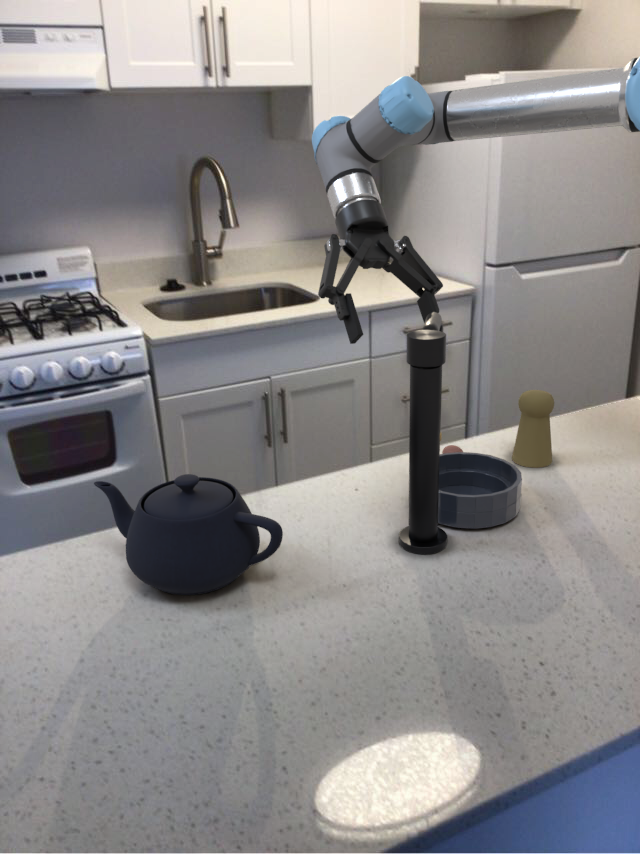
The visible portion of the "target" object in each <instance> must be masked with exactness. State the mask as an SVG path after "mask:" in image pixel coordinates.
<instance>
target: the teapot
mask: <svg viewBox="0 0 640 854" xmlns="http://www.w3.org/2000/svg"><path fill="white" fill-rule="evenodd" d="M93 485H94V486H95V487H96V488H98V489H99V490H100V491H102V492H103V493H104V494H105V496H106V498H107V499H108V502H109V504H110V507H111V510H112V514H113V515H112V516H113V518H114V522H115V525H116V527H117V529H118V531H119V533H120V534H121V535H122V536H123V537H124V538H125V539H126V540H125V559H126V563H127V565H128V567H129V569H130V571H131V573H133V575H134V576H135V577H136V578H137V579H138V580H140V581H141V582H143V583H144V584H146V585H148V586H150V587H152V588H155V589H157V590H158V591H161V592H163V593H167V594H171V595H178V596H196V595H202V594H207V593H212V592H215V591H217V590H220V589H222V588H224V587H227V586H228V585H230V584H231V583H233V582H234V581H235V580H236V579H238V578H239V577H240V576H241V575H242V574H244V573H245V572H246V571H247V570H248V569H249V567H251V566H254V565H256V564H259V563H262V562H263V561H266V560H268V559H269V558H270V557H271V556H273V555H274V554H275V553H276V552H277V551H278V549H279V548H280V546H281V544H282V542H283V536H284V534H283V533H284V531H283V528H282V526H281V524H280V523H279V522H277V521H276V520H275V519H273V518H271V517H267V516H263V515H259V514H255V513H252V511H251V509H250V508H249V506H248V504H247V503H246V501H245V498H244V497H243V496H242V495H241V493H240V491H239V490H238V488H236V486H234V485H233V484H231V483H229V482H228V481H225V480H222V479H218V478H215V477H204V476H202V477H201V476H198V475H196V474H193V473H186V474H181V475H179V476H176V477H175V479H173V480H169V481H166V482H163V483H160V484H157V485H156V486H154V487H152V488H150V489H149V490H148V491H146V492H145V493H144V494H143V495H141V497H140V498H139V500H138V502H137V504H136V507H135V508H134V509H135V510H134V509H133V508H132V506H131V505H130V503H129V502H128V501H127V499H126V498H125V496H124V495H123V493H122V492H121V490H120V489H119V488H118V487H117V486H116V485H114V484H113V483H111V482H109V481H101V480H98V481H97V480H96V481H94V482H93ZM259 528H261V529H262V530H263V529H264V530H265V531H267V532H268V533H269V535H270V540H269V543H268V544H267V546H266V548H264V550H262V551H261V552H259V550H260V546H261V535H260V531H259Z"/></svg>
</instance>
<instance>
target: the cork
mask: <svg viewBox="0 0 640 854" xmlns="http://www.w3.org/2000/svg"><path fill="white" fill-rule="evenodd" d="M517 404H518V409H519V411H520V412H521V414H520V418H519V422H518V426H517V427H518V428H517V432H516V436H515V441H514V446H513V451H512V456H511V459H512V461H513V462H514V463H515V464H517V465H519V466H522V467H524V468H535V469H538V468H546V467H548V466H550V465H551V464H552V463H553V448H552V434H551V432H552V431H551V413H553V410H554V408H555V398H554V397H553V395H552V394H551V393H550V392H548V391H546V390H542V389H529V390H526V391H523V392H522V393H521V394H520V396H519V397H518V403H517Z"/></svg>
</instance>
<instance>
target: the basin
mask: <svg viewBox="0 0 640 854" xmlns="http://www.w3.org/2000/svg"><path fill="white" fill-rule="evenodd" d="M522 475H523V474H522V472H521V470H520V469H519V468H518V467H517V466H516V465H515V464H513V463H511V462H509V461H508V460H506V459H504V458H501V457H498V456H494V455H492V454H487V453H486V454H485V453H479V452H465V451H463V452H455V453H444V454H442V453H440V461H439V501H438V525H444V526H448V527H452V528H457V529H460V528H461V529H485V528H492V527H495V526H499V525H503V524H506V523H507V522H509V521H511V520H513V519H514V518H516V516H517V515H518V514H519V512H520V510H521V501H522V486H523V477H522Z"/></svg>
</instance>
